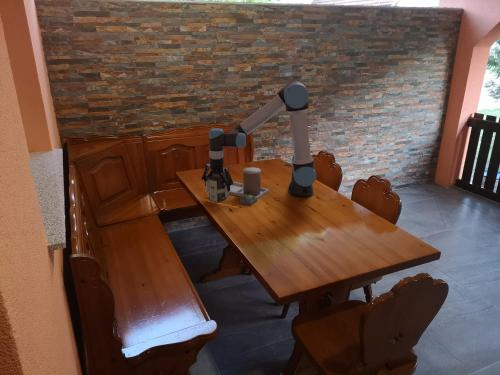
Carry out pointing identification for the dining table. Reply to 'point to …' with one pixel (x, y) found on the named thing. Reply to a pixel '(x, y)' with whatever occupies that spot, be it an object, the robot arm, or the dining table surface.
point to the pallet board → (238, 190)
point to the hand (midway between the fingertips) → (217, 194)
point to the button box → (248, 201)
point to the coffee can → (216, 188)
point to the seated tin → (251, 181)
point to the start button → (248, 197)
